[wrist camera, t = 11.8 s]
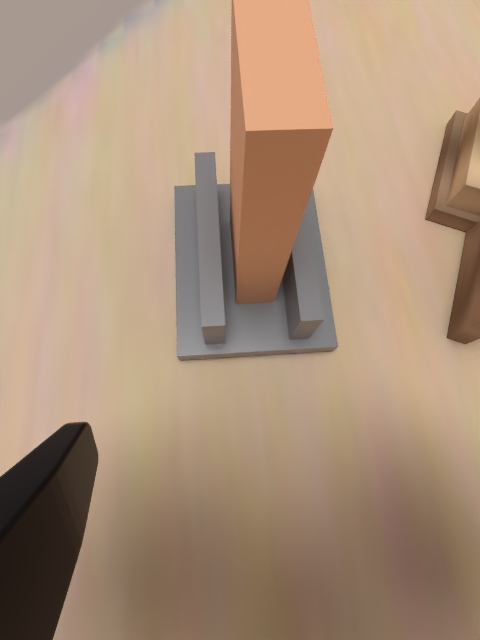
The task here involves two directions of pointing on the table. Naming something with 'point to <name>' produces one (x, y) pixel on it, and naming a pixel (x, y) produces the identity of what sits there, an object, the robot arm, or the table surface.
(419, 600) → the table surface
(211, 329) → the holder
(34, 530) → the robot arm
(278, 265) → the tall peach slab
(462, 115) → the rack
